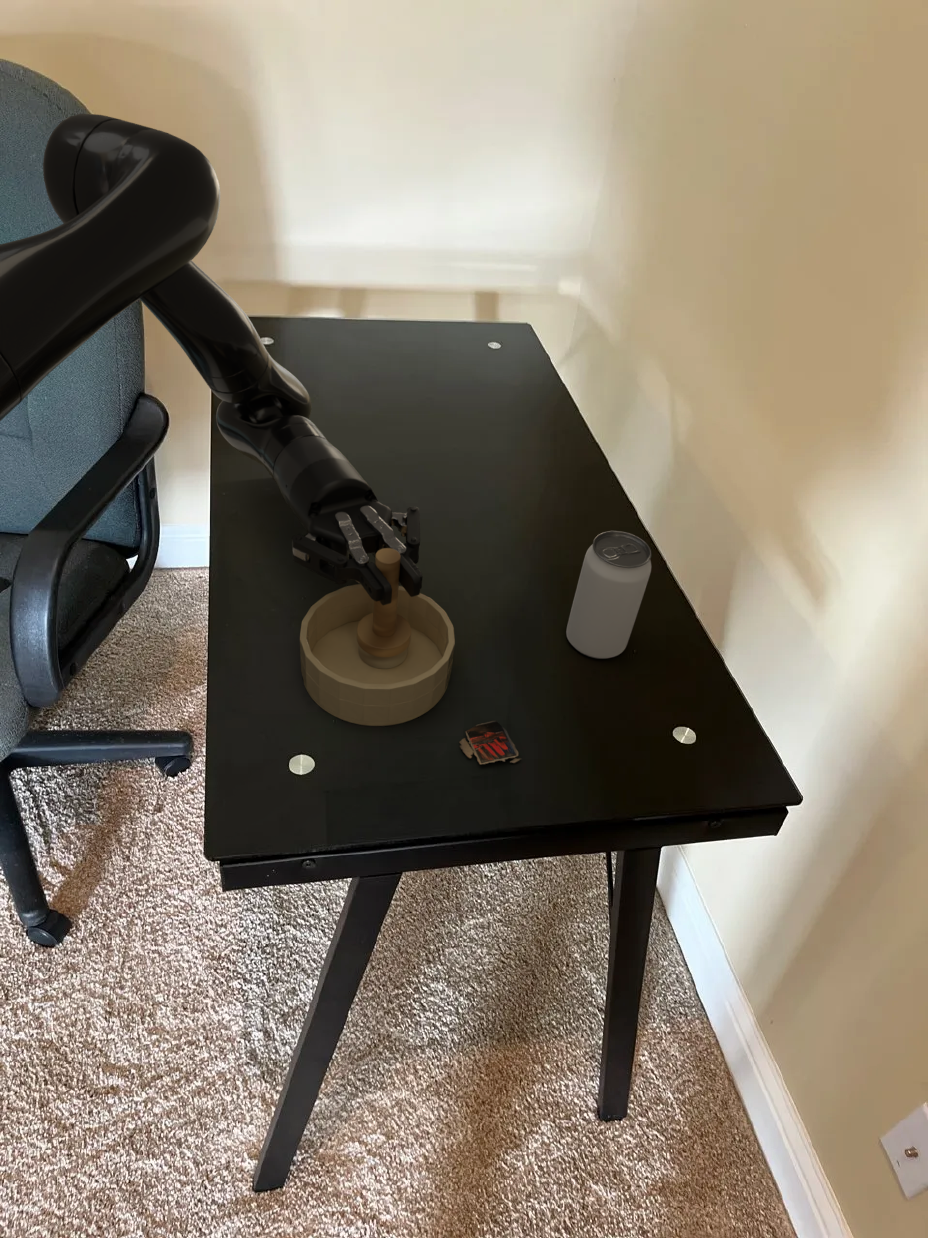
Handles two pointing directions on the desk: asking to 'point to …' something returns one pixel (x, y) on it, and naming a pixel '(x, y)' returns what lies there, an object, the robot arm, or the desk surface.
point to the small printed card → (489, 743)
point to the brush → (385, 621)
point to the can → (609, 594)
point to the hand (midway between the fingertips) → (402, 592)
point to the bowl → (365, 689)
